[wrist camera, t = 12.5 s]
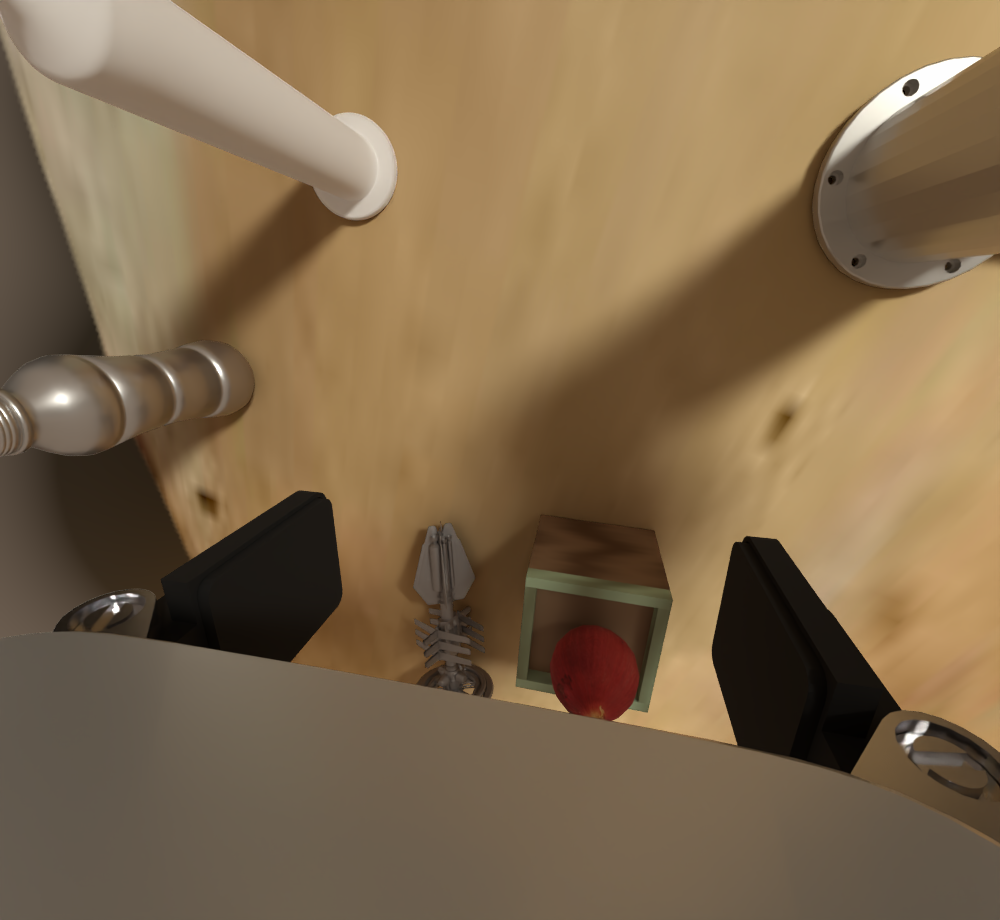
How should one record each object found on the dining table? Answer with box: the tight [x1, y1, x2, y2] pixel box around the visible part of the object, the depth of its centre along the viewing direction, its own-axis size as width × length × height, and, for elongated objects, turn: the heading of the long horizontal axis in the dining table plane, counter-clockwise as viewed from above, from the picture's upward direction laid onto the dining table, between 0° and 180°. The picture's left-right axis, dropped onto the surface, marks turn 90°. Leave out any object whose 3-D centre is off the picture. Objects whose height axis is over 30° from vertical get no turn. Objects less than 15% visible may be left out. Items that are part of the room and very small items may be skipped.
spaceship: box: [413, 521, 493, 698], centre depth 46 cm, size 8×35×8 cm
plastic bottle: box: [0, 340, 254, 457], centre depth 34 cm, size 6×7×20 cm
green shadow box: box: [516, 515, 673, 713], centre depth 39 cm, size 10×11×10 cm
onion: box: [550, 625, 639, 721], centre depth 31 cm, size 6×6×8 cm
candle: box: [0, 0, 397, 220], centre depth 24 cm, size 7×7×25 cm
